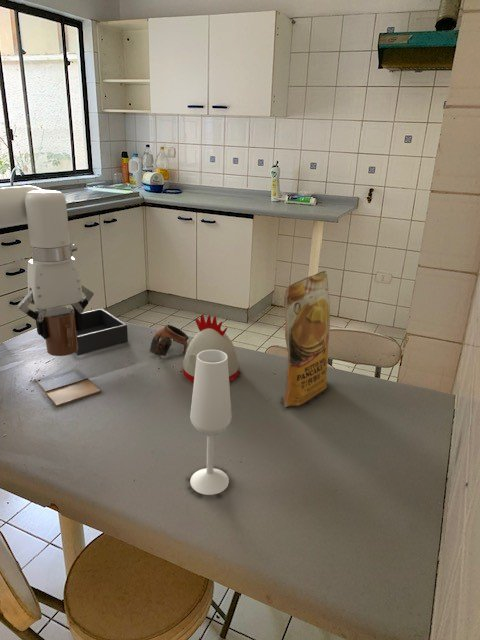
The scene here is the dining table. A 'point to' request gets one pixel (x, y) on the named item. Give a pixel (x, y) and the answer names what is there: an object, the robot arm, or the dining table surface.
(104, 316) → the dark grey open box
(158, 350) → the pottery mug
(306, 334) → the pancake mix bag
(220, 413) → the champagne flute
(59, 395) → the wooden flat board
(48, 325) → the brown mug
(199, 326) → the kitchen timer
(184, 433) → the dining table surface
